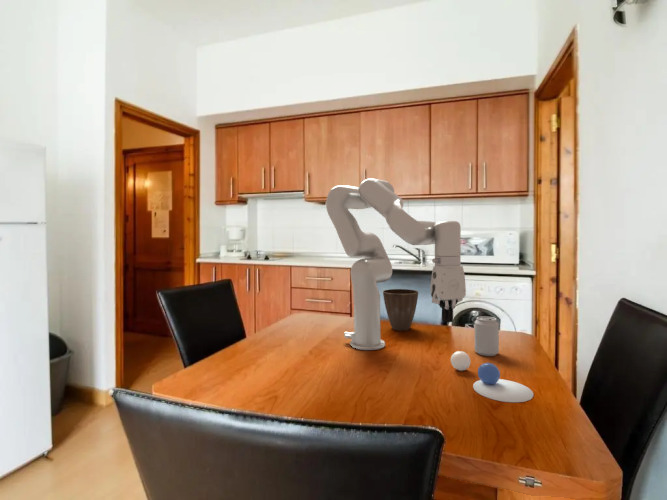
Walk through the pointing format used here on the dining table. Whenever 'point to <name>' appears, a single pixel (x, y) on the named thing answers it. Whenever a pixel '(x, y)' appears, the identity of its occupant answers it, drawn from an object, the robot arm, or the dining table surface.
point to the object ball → (488, 373)
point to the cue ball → (460, 360)
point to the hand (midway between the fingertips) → (447, 321)
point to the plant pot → (400, 307)
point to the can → (486, 336)
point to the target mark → (504, 391)
